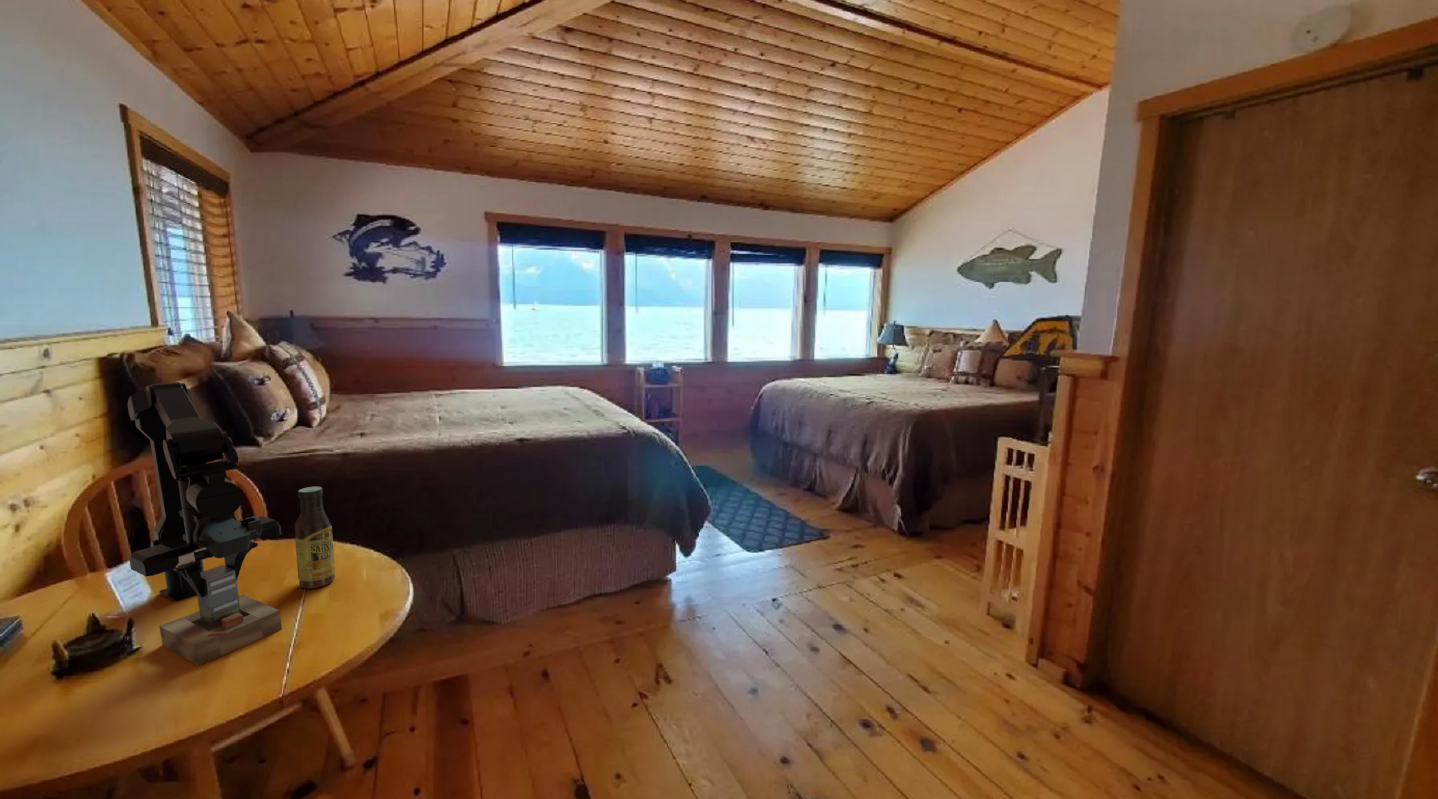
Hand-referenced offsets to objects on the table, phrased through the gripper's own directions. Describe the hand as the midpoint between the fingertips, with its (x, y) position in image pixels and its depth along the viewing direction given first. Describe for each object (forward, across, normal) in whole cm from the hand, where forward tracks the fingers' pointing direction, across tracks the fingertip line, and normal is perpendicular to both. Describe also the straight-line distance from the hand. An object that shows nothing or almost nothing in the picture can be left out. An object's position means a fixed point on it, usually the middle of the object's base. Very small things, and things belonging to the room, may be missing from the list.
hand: (217, 591), depth 100 cm
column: (+4, 0, 0) cm, 4 cm away
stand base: (+8, 0, 0) cm, 8 cm away
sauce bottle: (+9, +19, +6) cm, 22 cm away
